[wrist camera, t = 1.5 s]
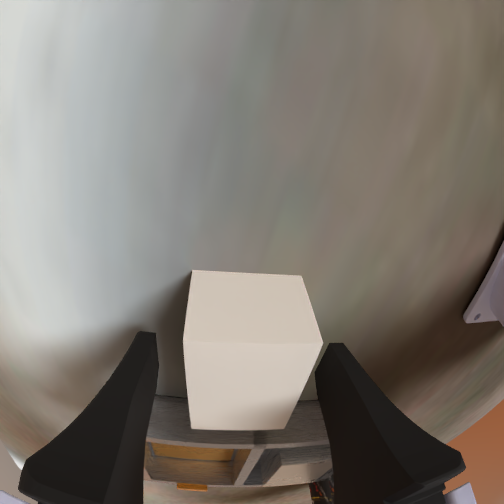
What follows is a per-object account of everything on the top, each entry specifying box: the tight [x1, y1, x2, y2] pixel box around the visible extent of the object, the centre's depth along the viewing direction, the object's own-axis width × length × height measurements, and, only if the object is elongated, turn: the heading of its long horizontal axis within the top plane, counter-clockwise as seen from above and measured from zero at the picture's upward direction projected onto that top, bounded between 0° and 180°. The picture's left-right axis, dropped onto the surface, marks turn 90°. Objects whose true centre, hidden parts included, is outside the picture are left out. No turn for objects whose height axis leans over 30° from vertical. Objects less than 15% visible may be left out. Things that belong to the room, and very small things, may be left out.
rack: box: [143, 395, 333, 491], centre depth 17 cm, size 15×11×3 cm
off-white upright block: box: [183, 270, 323, 430], centre depth 11 cm, size 4×6×4 cm, turn 174°
